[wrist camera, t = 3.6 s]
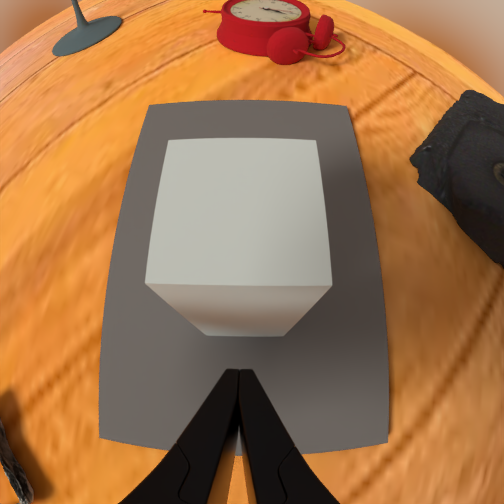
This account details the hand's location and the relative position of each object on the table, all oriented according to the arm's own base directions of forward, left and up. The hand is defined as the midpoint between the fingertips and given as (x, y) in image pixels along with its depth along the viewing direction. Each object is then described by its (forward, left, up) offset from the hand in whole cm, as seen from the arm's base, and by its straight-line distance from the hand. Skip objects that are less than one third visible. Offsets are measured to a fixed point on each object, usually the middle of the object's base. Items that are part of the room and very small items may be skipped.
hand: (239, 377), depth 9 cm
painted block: (+3, -3, -6) cm, 7 cm away
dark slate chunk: (-8, -28, -7) cm, 30 cm away
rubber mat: (+5, -6, -7) cm, 10 cm away
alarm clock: (+18, -26, -7) cm, 32 cm away
